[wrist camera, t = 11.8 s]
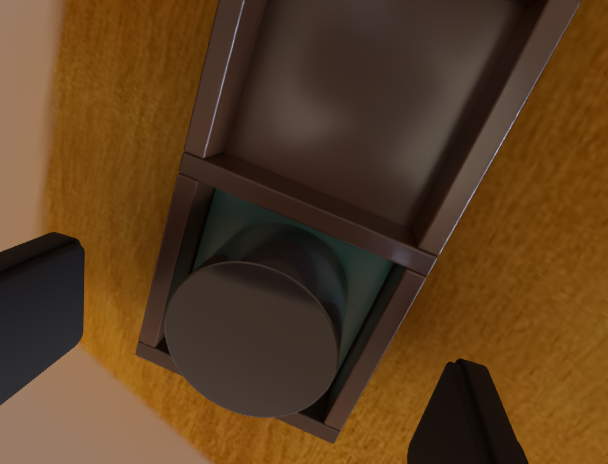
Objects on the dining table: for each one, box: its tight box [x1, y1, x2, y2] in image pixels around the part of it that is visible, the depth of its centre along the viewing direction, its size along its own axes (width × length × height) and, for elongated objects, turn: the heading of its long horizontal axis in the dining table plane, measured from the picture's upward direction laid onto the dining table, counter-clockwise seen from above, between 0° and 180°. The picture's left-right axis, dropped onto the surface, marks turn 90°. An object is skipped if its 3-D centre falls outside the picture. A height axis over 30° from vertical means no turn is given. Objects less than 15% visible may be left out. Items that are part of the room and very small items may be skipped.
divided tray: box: [136, 0, 581, 444], centre depth 9 cm, size 20×7×2 cm, turn 160°
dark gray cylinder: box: [165, 223, 349, 418], centre depth 10 cm, size 4×4×3 cm
